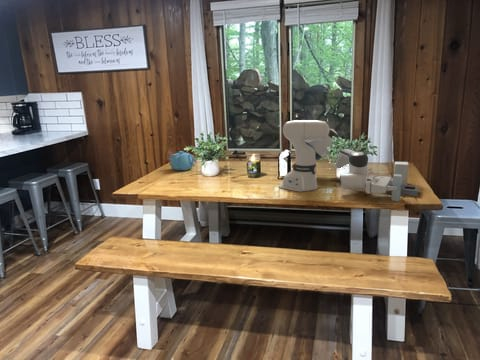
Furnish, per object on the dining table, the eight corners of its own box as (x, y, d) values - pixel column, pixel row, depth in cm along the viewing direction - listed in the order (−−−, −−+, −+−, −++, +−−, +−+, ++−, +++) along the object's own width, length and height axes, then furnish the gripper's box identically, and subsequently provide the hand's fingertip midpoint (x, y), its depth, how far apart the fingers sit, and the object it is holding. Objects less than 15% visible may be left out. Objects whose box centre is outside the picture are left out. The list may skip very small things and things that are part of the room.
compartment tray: (373, 192, 212) (373, 186, 211) (376, 187, 220) (376, 182, 219) (416, 196, 201) (417, 191, 200) (418, 191, 209) (419, 186, 209)
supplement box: (407, 186, 219) (408, 164, 216) (393, 185, 222) (394, 164, 219) (406, 182, 226) (408, 161, 223) (393, 182, 229) (394, 161, 225)
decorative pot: (173, 173, 272) (172, 154, 268) (169, 168, 286) (167, 150, 282) (196, 170, 277) (194, 151, 273) (190, 165, 292) (189, 148, 288)
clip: (391, 200, 197) (393, 175, 194) (392, 198, 200) (394, 174, 197) (399, 201, 195) (400, 176, 192) (400, 199, 199) (401, 174, 195)
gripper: (373, 183, 212) (400, 186, 205) (365, 194, 195) (395, 197, 188) (374, 172, 210) (401, 174, 204) (366, 182, 193) (395, 185, 187)
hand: (398, 185), depth 196 cm, fingers open, 8 cm apart
